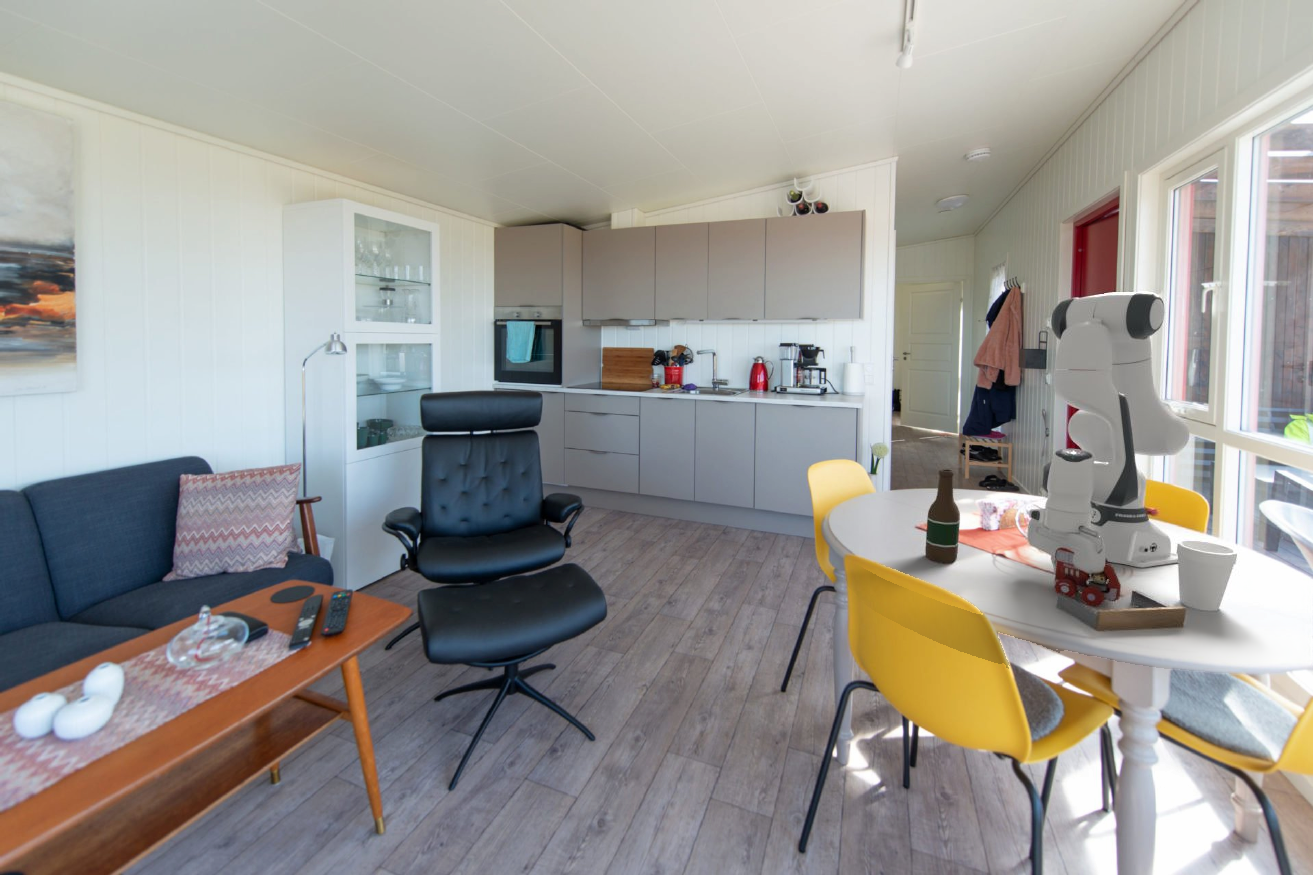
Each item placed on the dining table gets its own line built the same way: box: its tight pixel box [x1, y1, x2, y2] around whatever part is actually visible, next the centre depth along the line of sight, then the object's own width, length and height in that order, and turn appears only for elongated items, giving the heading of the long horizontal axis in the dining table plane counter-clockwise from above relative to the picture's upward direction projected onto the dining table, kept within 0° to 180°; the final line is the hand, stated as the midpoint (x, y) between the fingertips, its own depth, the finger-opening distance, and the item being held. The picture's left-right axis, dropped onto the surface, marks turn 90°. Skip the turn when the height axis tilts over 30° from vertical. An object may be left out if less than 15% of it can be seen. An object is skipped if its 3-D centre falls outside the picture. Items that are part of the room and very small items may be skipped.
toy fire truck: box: [1054, 548, 1122, 607], centre depth 131 cm, size 7×12×10 cm, turn 36°
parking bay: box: [1056, 589, 1187, 632], centre depth 123 cm, size 18×11×4 cm, turn 94°
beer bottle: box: [924, 468, 961, 564], centre depth 155 cm, size 8×8×24 cm
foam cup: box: [1176, 539, 1238, 612], centre depth 127 cm, size 10×9×13 cm
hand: (1061, 577), depth 138 cm, fingers closed
